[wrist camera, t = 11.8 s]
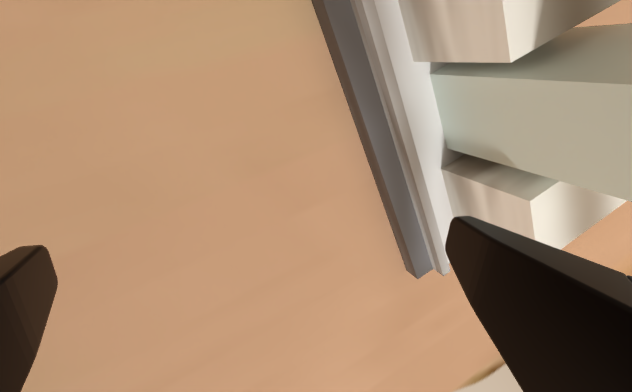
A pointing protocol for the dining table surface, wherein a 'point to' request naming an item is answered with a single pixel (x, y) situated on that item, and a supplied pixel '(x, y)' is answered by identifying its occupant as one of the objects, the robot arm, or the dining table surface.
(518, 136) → the block
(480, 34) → the rail board
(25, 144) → the dining table surface
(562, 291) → the robot arm
